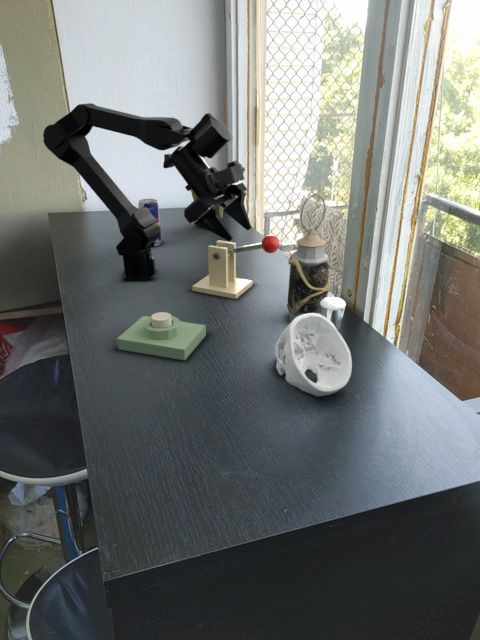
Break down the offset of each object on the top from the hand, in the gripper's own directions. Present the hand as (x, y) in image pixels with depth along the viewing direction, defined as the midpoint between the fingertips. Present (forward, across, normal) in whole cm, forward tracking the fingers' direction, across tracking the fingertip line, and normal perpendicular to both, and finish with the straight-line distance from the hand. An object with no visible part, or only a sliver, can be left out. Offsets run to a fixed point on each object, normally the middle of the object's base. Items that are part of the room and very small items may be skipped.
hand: (240, 234), depth 111 cm
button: (+6, -28, +9) cm, 29 cm away
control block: (+8, -28, +11) cm, 31 cm away
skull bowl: (+28, -28, -10) cm, 41 cm away
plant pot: (-11, +45, +33) cm, 57 cm away
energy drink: (-15, +21, +37) cm, 45 cm away
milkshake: (+27, -14, -10) cm, 32 cm away
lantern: (+22, -7, -4) cm, 24 cm away
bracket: (+7, +1, +12) cm, 14 cm away
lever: (+5, +1, +2) cm, 5 cm away
